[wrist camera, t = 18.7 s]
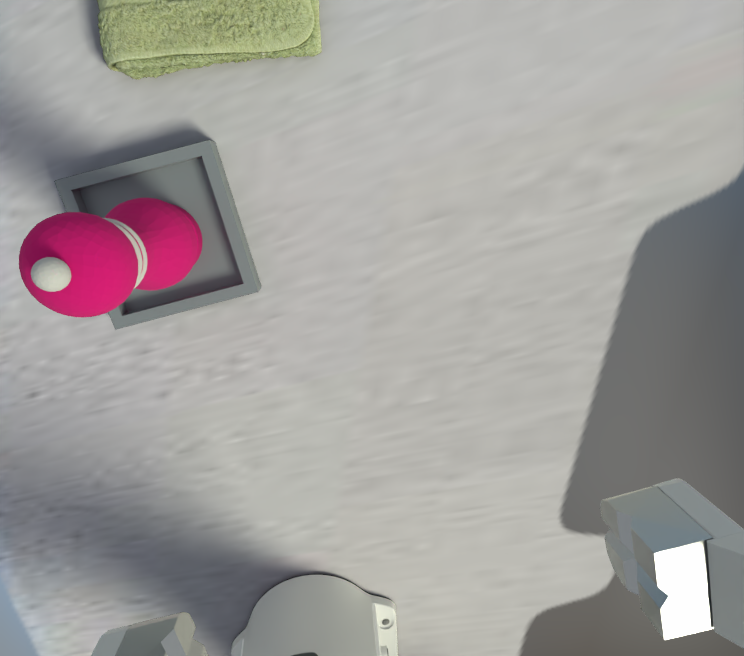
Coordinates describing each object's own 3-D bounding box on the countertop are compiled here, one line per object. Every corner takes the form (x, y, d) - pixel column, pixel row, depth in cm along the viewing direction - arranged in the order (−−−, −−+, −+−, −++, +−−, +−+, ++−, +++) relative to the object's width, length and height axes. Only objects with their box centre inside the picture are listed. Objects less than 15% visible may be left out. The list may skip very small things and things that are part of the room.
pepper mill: (113, 262, 45) (-50, 317, 26) (136, 183, 43) (-19, 178, 24) (194, 292, 46) (96, 365, 27) (219, 216, 45) (134, 236, 25)
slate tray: (261, 287, 47) (258, 291, 45) (125, 323, 47) (115, 329, 45) (215, 142, 44) (209, 139, 42) (67, 181, 44) (54, 180, 42)
